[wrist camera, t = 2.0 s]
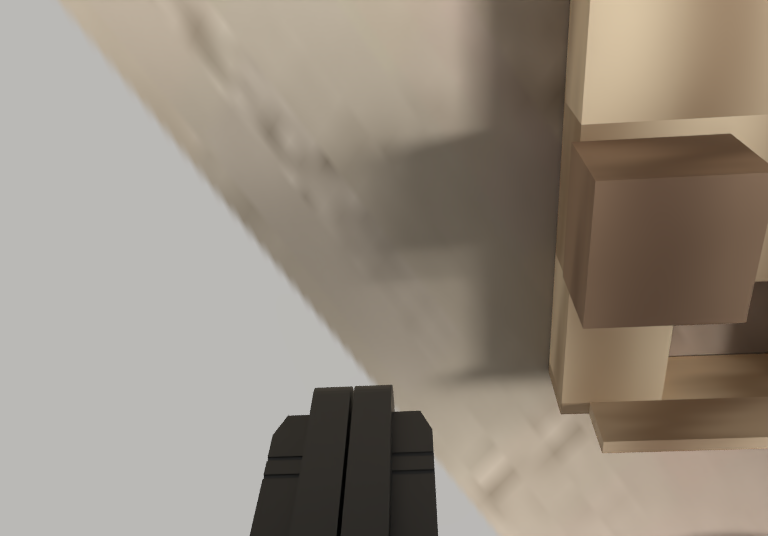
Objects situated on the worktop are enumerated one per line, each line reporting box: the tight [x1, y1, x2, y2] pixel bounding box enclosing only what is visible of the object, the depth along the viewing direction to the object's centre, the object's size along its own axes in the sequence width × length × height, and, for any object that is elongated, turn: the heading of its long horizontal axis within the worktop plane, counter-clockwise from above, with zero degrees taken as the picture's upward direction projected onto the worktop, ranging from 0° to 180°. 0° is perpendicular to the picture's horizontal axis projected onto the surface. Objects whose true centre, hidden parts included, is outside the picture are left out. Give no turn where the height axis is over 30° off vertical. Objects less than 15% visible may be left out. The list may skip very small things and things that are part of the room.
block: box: [563, 133, 768, 329], centre depth 20 cm, size 4×4×3 cm
